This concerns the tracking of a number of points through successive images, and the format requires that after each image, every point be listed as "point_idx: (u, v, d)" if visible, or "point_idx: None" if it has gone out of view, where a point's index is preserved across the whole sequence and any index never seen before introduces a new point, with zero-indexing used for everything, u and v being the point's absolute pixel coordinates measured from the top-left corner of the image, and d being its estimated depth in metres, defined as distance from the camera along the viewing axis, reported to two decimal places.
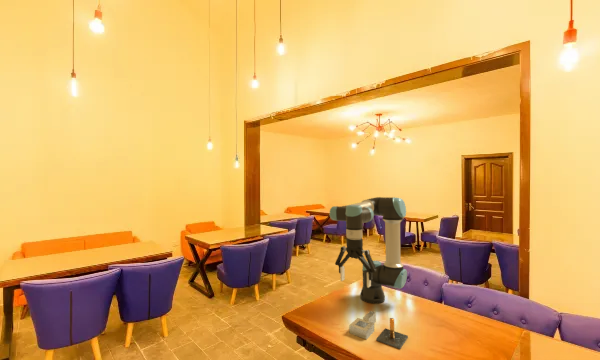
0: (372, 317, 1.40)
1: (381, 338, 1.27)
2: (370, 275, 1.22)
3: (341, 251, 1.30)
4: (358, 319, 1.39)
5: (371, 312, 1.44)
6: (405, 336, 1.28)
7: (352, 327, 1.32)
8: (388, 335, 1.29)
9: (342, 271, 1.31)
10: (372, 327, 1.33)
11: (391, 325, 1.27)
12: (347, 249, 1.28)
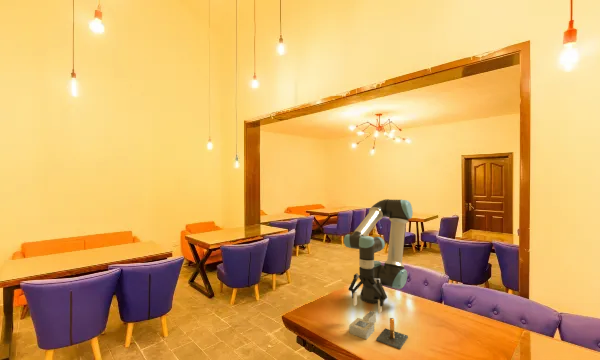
0: (372, 317, 1.40)
1: (381, 338, 1.27)
2: (381, 302, 1.34)
3: (354, 278, 1.43)
4: (358, 319, 1.39)
5: (371, 312, 1.44)
6: (405, 336, 1.28)
7: (352, 327, 1.32)
8: (388, 335, 1.29)
9: (355, 296, 1.43)
10: (372, 327, 1.33)
11: (391, 325, 1.27)
12: (360, 277, 1.41)
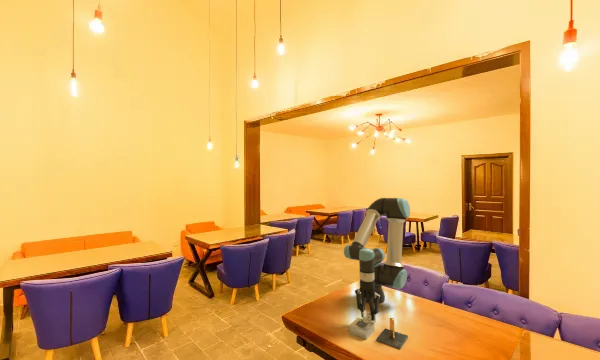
0: None
1: (381, 338, 1.27)
2: (372, 316, 1.37)
3: (357, 294, 1.42)
4: (358, 319, 1.39)
5: None
6: (405, 336, 1.28)
7: (352, 327, 1.32)
8: (388, 335, 1.29)
9: None
10: (372, 327, 1.33)
11: (391, 325, 1.27)
12: (360, 289, 1.41)
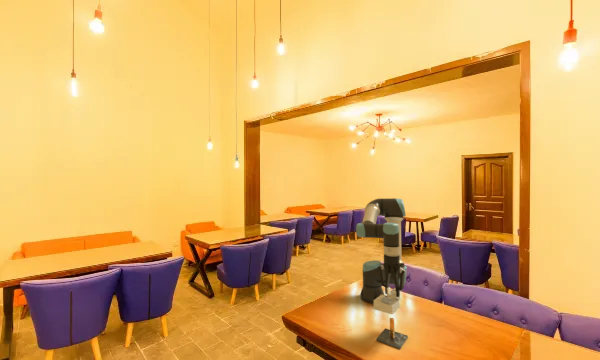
0: None
1: (381, 338, 1.27)
2: (397, 292, 1.31)
3: (380, 270, 1.37)
4: (382, 295, 1.33)
5: None
6: (405, 336, 1.28)
7: (376, 302, 1.27)
8: (388, 335, 1.29)
9: (388, 292, 1.34)
10: (397, 303, 1.27)
11: (391, 325, 1.27)
12: (384, 265, 1.35)
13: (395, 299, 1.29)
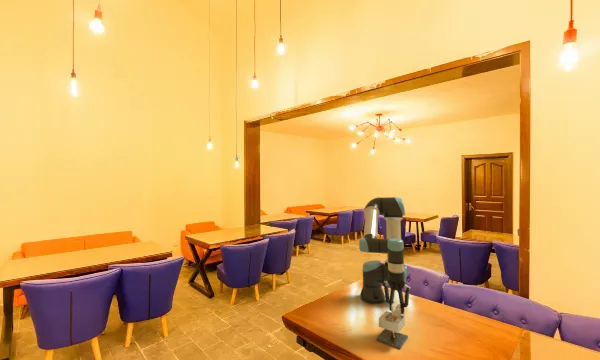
0: None
1: (381, 338, 1.27)
2: (402, 309, 1.31)
3: (384, 286, 1.36)
4: (386, 312, 1.32)
5: (399, 305, 1.37)
6: (405, 336, 1.28)
7: (382, 320, 1.26)
8: (388, 335, 1.29)
9: None
10: (403, 320, 1.27)
11: None
12: (388, 281, 1.35)
13: (400, 316, 1.28)
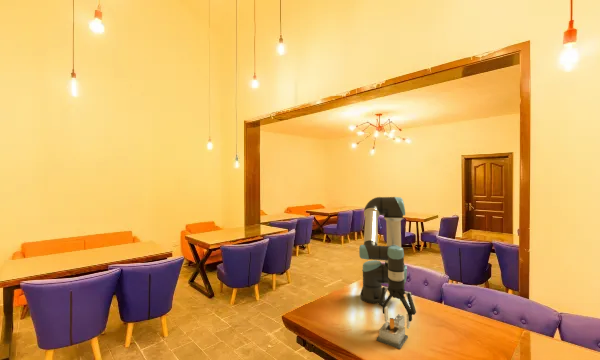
0: (401, 320, 1.34)
1: None
2: (410, 317, 1.29)
3: (383, 291, 1.36)
4: (387, 323, 1.33)
5: (399, 316, 1.37)
6: (405, 336, 1.28)
7: (382, 332, 1.26)
8: None
9: (386, 312, 1.36)
10: (403, 332, 1.27)
11: (391, 325, 1.27)
12: (389, 289, 1.34)
13: (400, 327, 1.28)
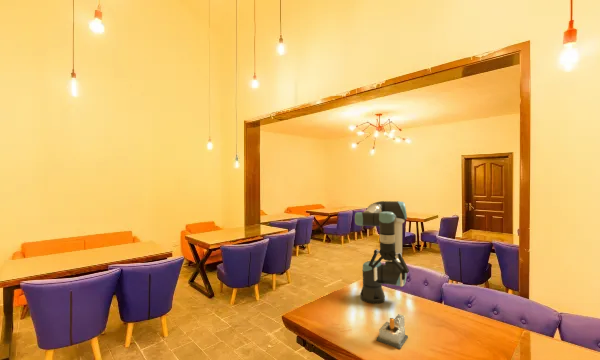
0: (401, 320, 1.34)
1: None
2: (403, 275, 1.35)
3: (374, 254, 1.42)
4: (387, 323, 1.33)
5: (399, 316, 1.37)
6: (405, 336, 1.28)
7: (382, 332, 1.26)
8: None
9: (375, 272, 1.43)
10: (403, 332, 1.27)
11: (391, 325, 1.27)
12: (380, 252, 1.40)
13: (400, 327, 1.28)
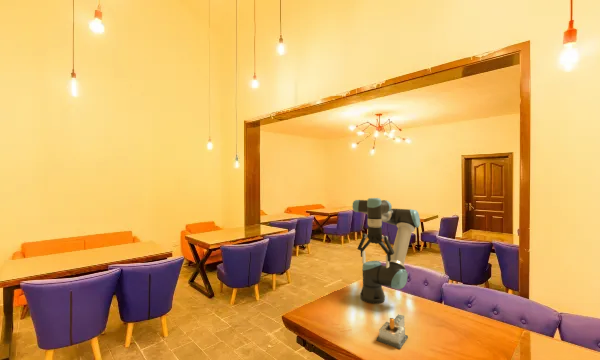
0: (401, 320, 1.34)
1: None
2: (389, 257, 1.43)
3: (363, 238, 1.52)
4: (387, 323, 1.33)
5: (399, 316, 1.37)
6: (405, 336, 1.28)
7: (382, 332, 1.26)
8: None
9: (363, 255, 1.52)
10: (403, 332, 1.27)
11: (391, 325, 1.27)
12: (368, 236, 1.50)
13: (400, 327, 1.28)
